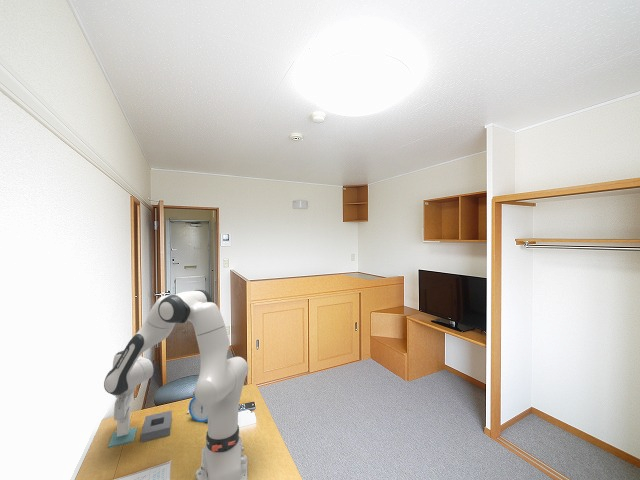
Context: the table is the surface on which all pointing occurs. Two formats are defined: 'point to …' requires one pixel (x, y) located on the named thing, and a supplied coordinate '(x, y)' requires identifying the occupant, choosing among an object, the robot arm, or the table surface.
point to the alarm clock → (198, 410)
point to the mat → (122, 438)
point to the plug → (124, 424)
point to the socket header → (156, 426)
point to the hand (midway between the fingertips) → (123, 418)
